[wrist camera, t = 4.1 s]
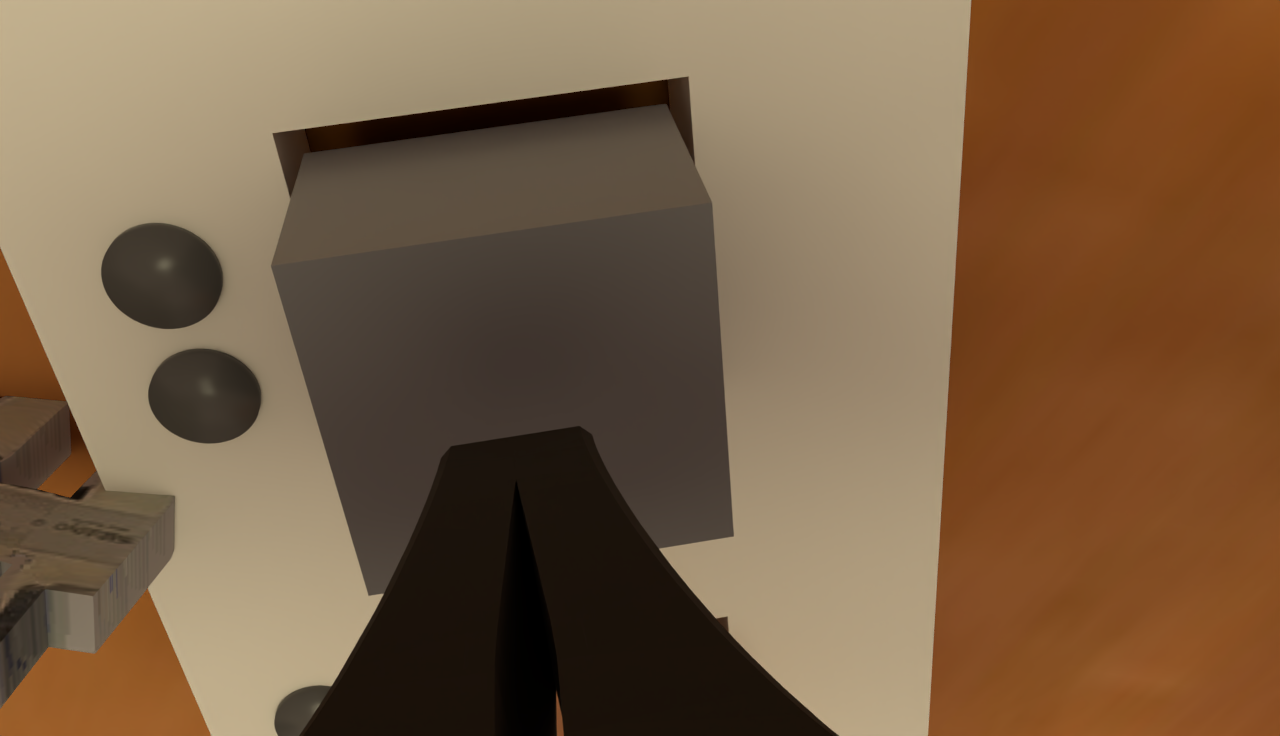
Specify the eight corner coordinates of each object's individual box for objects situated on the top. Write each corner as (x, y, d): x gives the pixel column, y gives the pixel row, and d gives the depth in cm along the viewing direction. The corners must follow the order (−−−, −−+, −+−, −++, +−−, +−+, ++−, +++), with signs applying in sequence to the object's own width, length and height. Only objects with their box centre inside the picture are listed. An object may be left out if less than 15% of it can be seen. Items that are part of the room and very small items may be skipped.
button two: (666, 103, 14) (712, 201, 12) (691, 400, 17) (733, 536, 14) (303, 153, 14) (271, 265, 11) (381, 448, 16) (369, 595, 14)
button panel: (924, -296, 14) (993, -287, 12) (880, 1029, 30) (908, 1117, 28) (-93, -176, 13) (-179, -148, 12) (417, 1118, 29) (415, 1215, 28)
